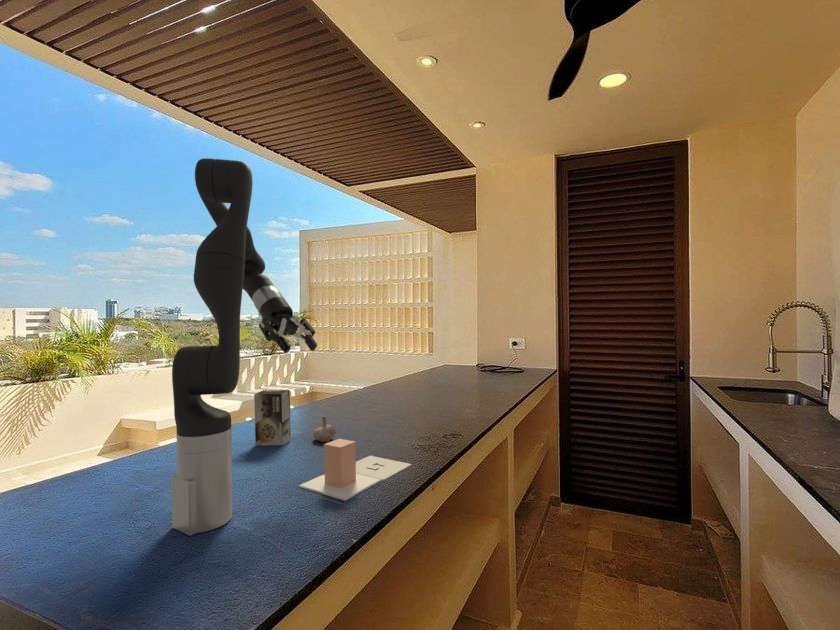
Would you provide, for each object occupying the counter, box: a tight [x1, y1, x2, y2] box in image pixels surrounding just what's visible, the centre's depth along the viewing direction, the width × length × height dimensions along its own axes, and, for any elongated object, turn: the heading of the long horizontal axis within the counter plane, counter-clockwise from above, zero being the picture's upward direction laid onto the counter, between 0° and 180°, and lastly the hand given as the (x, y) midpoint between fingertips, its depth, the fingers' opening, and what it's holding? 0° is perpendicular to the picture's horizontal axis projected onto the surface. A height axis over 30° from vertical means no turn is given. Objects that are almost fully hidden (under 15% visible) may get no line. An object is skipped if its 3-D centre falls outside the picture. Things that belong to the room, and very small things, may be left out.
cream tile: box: [356, 455, 413, 481], centre depth 105 cm, size 12×14×1 cm
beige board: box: [298, 473, 382, 501], centre depth 94 cm, size 12×14×1 cm
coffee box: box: [253, 389, 292, 447], centre depth 129 cm, size 9×6×16 cm
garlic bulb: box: [312, 415, 336, 443], centre depth 131 cm, size 8×7×8 cm
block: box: [323, 438, 357, 488], centre depth 94 cm, size 5×5×9 cm
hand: (301, 349), depth 104 cm, fingers open, 8 cm apart
